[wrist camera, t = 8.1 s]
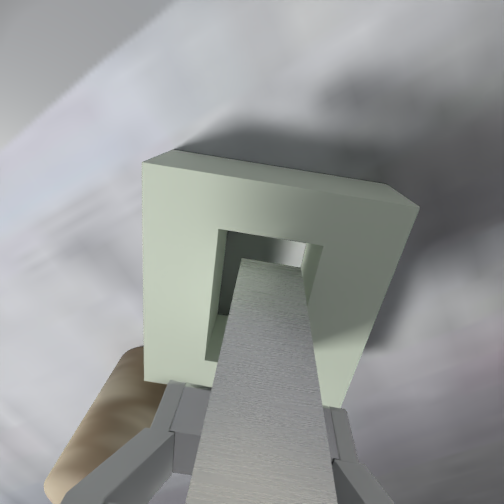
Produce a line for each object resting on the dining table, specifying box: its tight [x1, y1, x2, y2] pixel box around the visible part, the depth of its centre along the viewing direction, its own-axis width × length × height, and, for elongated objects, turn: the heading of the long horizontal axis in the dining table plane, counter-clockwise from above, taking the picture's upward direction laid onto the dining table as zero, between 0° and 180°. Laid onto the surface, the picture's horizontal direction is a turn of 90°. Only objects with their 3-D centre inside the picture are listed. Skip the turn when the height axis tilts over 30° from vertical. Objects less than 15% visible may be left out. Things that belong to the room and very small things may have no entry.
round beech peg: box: [44, 347, 167, 504], centre depth 19 cm, size 5×5×8 cm
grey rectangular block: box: [185, 258, 338, 504], centre depth 10 cm, size 2×6×9 cm, turn 171°
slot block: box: [142, 150, 420, 408], centre depth 16 cm, size 11×12×4 cm
